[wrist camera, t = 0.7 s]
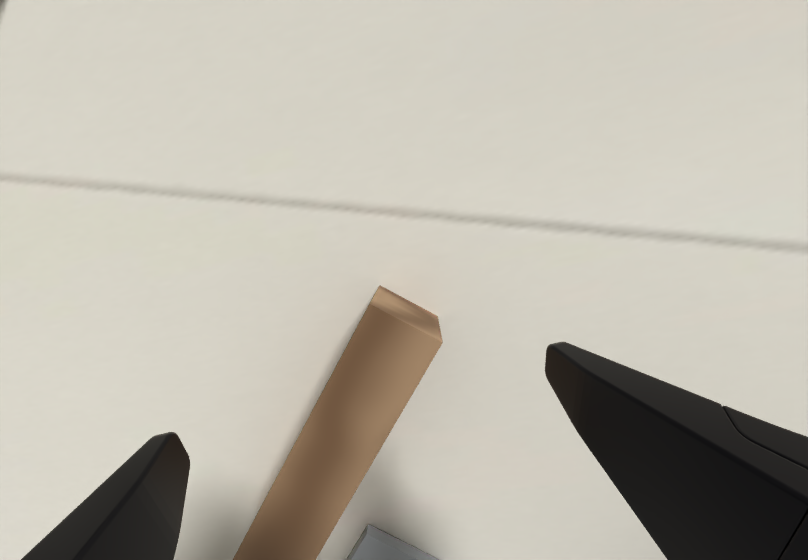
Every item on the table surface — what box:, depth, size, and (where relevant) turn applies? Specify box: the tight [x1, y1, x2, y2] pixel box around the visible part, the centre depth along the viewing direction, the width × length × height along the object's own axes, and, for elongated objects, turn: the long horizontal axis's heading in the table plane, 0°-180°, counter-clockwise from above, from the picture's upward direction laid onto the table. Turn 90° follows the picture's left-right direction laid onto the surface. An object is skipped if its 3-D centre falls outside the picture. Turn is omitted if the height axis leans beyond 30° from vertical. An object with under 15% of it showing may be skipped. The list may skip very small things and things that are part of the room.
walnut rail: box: [233, 286, 443, 560], centre depth 22 cm, size 4×18×5 cm, turn 152°
